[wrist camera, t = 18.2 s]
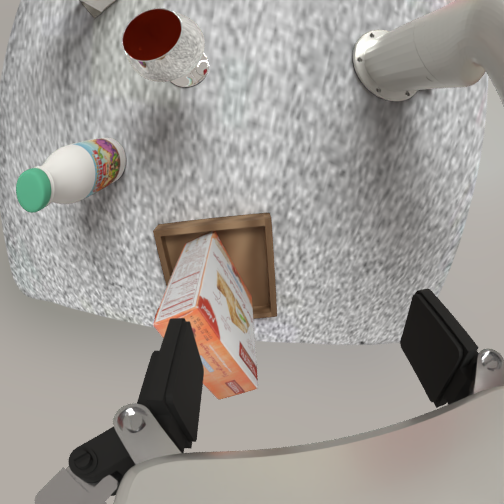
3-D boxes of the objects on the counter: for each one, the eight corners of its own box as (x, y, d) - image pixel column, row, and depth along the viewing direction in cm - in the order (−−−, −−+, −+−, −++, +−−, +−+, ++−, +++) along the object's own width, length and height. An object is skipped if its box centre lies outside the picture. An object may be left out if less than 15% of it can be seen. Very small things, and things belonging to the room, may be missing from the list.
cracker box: (254, 294, 50) (260, 391, 31) (223, 306, 51) (216, 402, 32) (216, 226, 44) (199, 307, 25) (184, 242, 45) (148, 326, 26)
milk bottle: (92, 188, 41) (18, 233, 23) (83, 144, 38) (0, 168, 20) (132, 177, 41) (63, 219, 23) (122, 131, 38) (44, 144, 20)
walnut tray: (269, 212, 44) (271, 218, 42) (275, 306, 52) (277, 316, 49) (158, 224, 45) (153, 231, 42) (180, 313, 52) (177, 323, 50)
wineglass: (224, 53, 34) (212, 8, 17) (200, 100, 37) (171, 84, 20) (175, 37, 32) (135, -8, 16) (152, 83, 35) (96, 64, 19)
